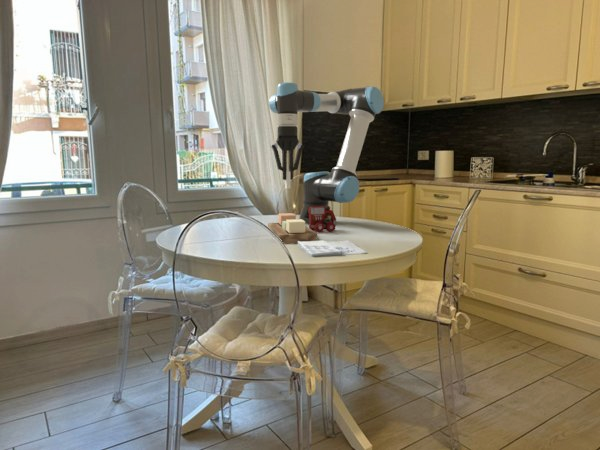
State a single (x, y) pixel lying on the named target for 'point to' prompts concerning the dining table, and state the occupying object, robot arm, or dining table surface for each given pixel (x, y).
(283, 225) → the pale green square block
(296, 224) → the cream yellow square block
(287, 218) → the salmon orange square block
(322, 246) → the printed paper napkins
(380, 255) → the dining table surface
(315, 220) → the toy fire truck
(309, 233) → the board
